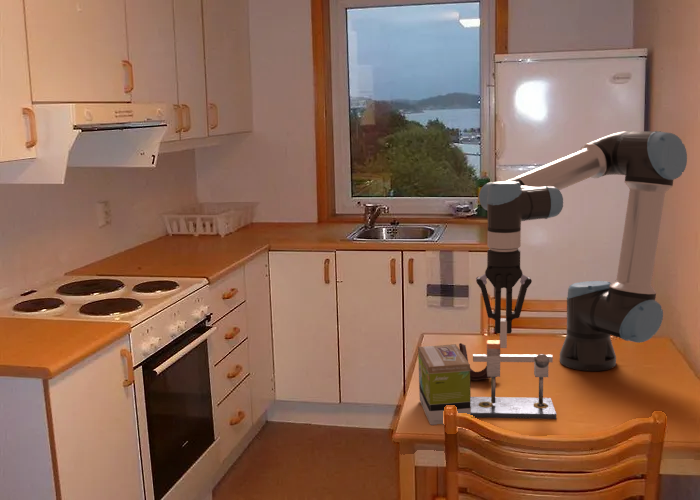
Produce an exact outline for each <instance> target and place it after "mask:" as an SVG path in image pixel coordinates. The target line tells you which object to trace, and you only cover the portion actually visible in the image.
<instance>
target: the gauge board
mask: <svg viewBox="0 0 700 500" xmlns="http://www.w3.org/2000/svg"><path fill="white" fill-rule="evenodd" d="M471 415H473V416H475V417H474V418H476V417H477V418H479V419H480V418H481V419H483V418H486V419H488V418H489V419H533V420H534V419H538V420H539V419H543V420H557V411H556V409H555V406H554V402H553V401H552V398H551V397H543V404H539V397H520V396H519V397H509V396H508V397H507V396H495V403H491V396H471Z"/></svg>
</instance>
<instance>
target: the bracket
mask: <svg viewBox="0 0 700 500" xmlns="http://www.w3.org/2000/svg"><path fill="white" fill-rule="evenodd" d="M458 346H459V347H458V348H459V350H460V351H461V352H462V354H463V355H464V357H465V358H466V360H467V361H468V362H469V359H468V351H467V347H466V344H463V343H461V342H460V343H459V345H458ZM486 379H491V377H487V365H486V366H485V368H483V369H482V370H480V371H474V370H473V369H472V368H471V367H470V380H472V381H480V380H486Z"/></svg>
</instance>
